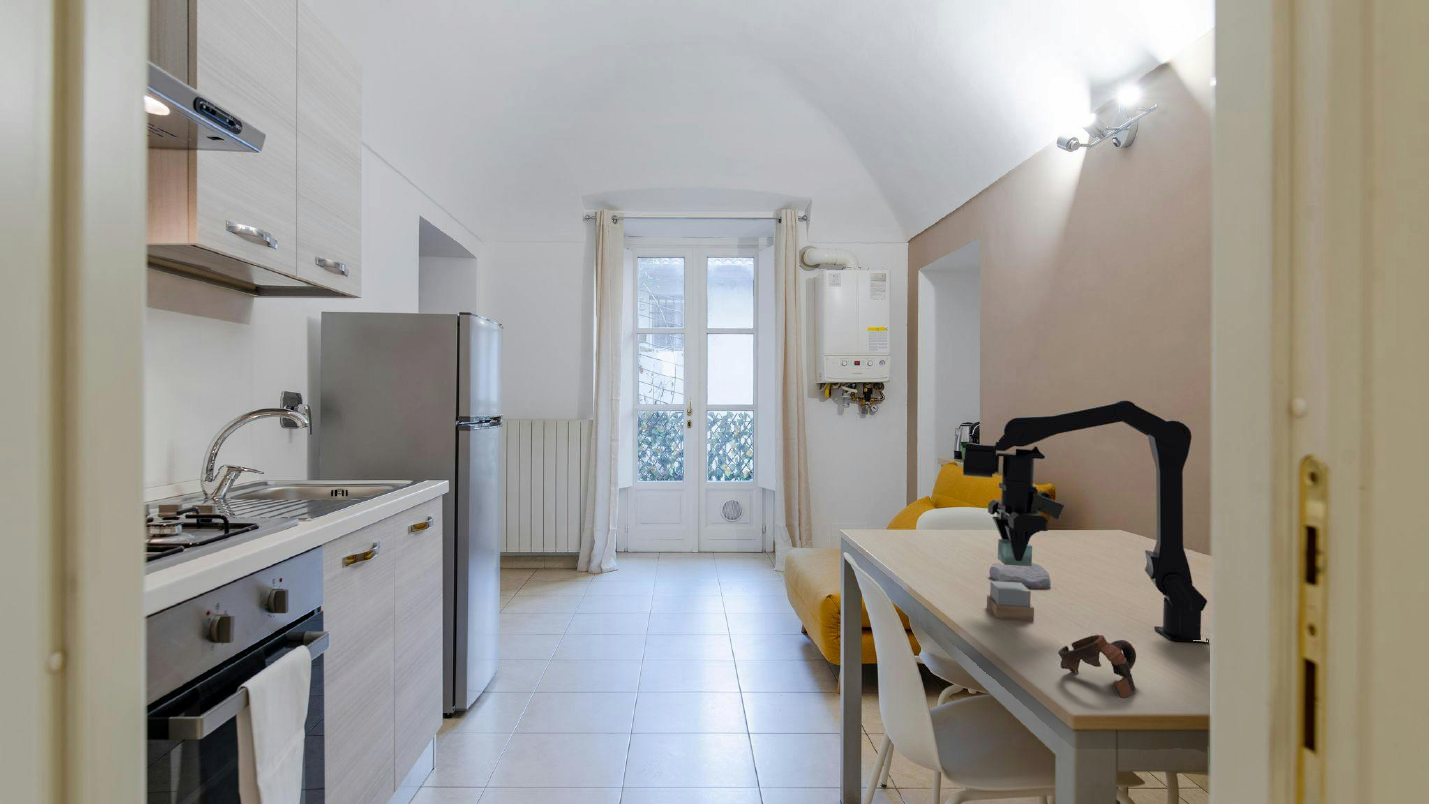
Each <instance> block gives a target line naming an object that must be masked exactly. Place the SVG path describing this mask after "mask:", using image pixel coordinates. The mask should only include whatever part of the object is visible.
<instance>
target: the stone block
mask: <svg viewBox="0 0 1429 804" xmlns="http://www.w3.org/2000/svg"><path fill="white" fill-rule="evenodd" d="M989 576H990V578H991V579H992V580H993V581H999V582H1016V583H1022V584H1023V585H1024V586H1025V587H1026V588H1029V587H1032V589H1049V588H1051V578H1050V577H1051V576H1050V574H1049V573H1048V571H1047V570H1046V568H1045V567H1043V566H1042V565H1040V564H1038V563H1035V562H1032V566H1016V565H1005V564H1003V563H999V562H995V563H993V564H992V565H991V566H990V567H989Z"/></svg>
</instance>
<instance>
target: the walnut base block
mask: <svg viewBox="0 0 1429 804" xmlns="http://www.w3.org/2000/svg"><path fill="white" fill-rule="evenodd" d="M986 608H987V610H988V611H989V610H990V611H989V612H990V613H991V612H992V613H991V614H992V616H993V617H994V618H995V617H996V618H995V619H997V620H999V619H1001V620H1013V621H1031V622H1032V621H1033V622H1034V619H1035V607H1034V606H1033V605H1032V603H1030V607H1027V606H1010V605H998V604H997V603H996V602H995V601H994V599H993V598H992V597H991V596H990V594H987V595H986Z"/></svg>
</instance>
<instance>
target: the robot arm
mask: <svg viewBox="0 0 1429 804" xmlns="http://www.w3.org/2000/svg"><path fill="white" fill-rule="evenodd" d="M1116 423H1124V424H1126V425H1128V426H1129V427H1131V428H1133V429H1135V430H1136V431H1138V432H1140V433H1141V434H1143V435H1145V436H1147V438H1148V443H1149V447H1150V452H1151V456H1152V459H1153V461H1154V462H1153V463H1154V466H1155V470H1156V471H1155V473H1156V474H1155V475H1156V476H1155V477H1156V478H1155V480H1156V489H1155V491H1156V496H1155V497H1156V498H1155V499H1156V543H1155V546H1154V549H1153V551H1152V550H1146V549H1145V550H1144V554H1145V557H1146V558H1145V559H1146V566H1145V568H1144V571H1145V573H1146V574H1147V576H1148V577H1149V579H1150V582H1152V583H1153V585H1154V587H1156V589H1157V590H1158V591H1159V592H1160V593H1161V594H1162V596H1164V597H1163V608H1162V609H1163V610H1162V611H1163V612H1162V614H1163V615H1162V626H1156V625H1155V626H1154V628H1153V629H1154V630H1155V631H1157V633H1159V634H1161V635H1162V636H1164V637H1166V638H1167V639H1169V640H1170V641H1173V642H1186V641H1193V640H1201V635H1202V633H1201V632H1202V612H1203V611H1204V610H1205V608H1206V606H1207V604H1208V599H1207V598H1206V597H1204V595H1203V594H1201V592H1200V591H1199V590H1198V589H1197V588H1196V587H1195V586H1194V585H1193V584H1194V583H1193V577H1192V573H1191V569H1190V565H1189V560H1188V557H1187V555H1186V551H1185V548H1184V500H1183V499H1184V491H1183V490H1184V488H1183V487H1184V485H1183V483H1184V481H1183V480H1184V478H1183V475H1184V474H1183V472H1184V468H1185V465H1186V462H1187V459H1188V458H1189V457H1188V456H1189V452H1190V449H1191V442H1192V431H1191V430H1190V428H1189V427H1188V426H1187V425H1186V424H1184V423H1183V422H1180V421H1178V420H1173V419H1171V420H1170V419H1163V418H1161V417H1160V416H1157V415H1156V414H1153V413H1151V412H1149V411H1147V410H1145V409H1143V408H1141V407H1139V406H1137V405H1136V403H1134V402H1132V401H1131V400H1130V401H1129V400H1126V399H1125V400H1117V401H1116V402H1112V403H1109V404H1103V405H1098V406H1094V407H1088V408H1084V409H1079V410H1073V411H1069V412H1064V413H1058V414H1054V415H1035V416H1034V415H1032V416H1031V415H1030V416H1028V415H1027V416H1015V417H1013V418H1010V419H1009V420H1008V421H1007V423H1005V426H1004V429H1003V434H1002V436H1001V437H1000V438H999V439H998V440H997V439H996V441H995V443H994V444H978V443H975V442H974V443H973V442H967V443H965V448H964V449H965V450H964V458H963V465H962V471H963V473H962V474H963V476H964V477H965V476H966V477H977V478H978V477H979V478H990V479H993V478H994V477H993V476H994V475H996V474H999V472H1000V471H999V470H1000V457H1002V469H1001V470H1002V474H1001V482H998V488H999V489H1001V499H992V500H991V501H989V503H988V504H987V513H988V514H990V515H995V514H996V516H992V520H993V522H994V524H995V526H996V529H997V531H998V533H999V536H1000V539H1005V540H1009V541H1010V544H1011V547H1012V551H1013V554H1014V557H1015V560H1016V561H1022V559H1023V556H1024V553H1025V550H1026V548H1027V545H1028V544H1029V542H1030V539H1031V538H1032V536H1033V535H1035V534H1036V533H1040V532H1048V531H1049V520H1048V519H1047V518H1046V517H1045V516H1044V515H1042V514H1041V513H1043V514H1045V515H1047V516H1050V517H1051V518H1053V519H1055V520H1060V518H1061V515H1062V513H1063V510H1064V508H1065V506H1066V505H1065V504H1062V503H1060V502H1058V501H1056V500H1053V499H1052V495H1051V493H1048V492H1045V491H1043V490H1040V491H1039V489H1038V488H1037V486H1035V485H1034V473H1035V472H1034V471H1035V459H1036V460H1044V459H1045V458H1046V457H1045V454H1044V453H1043V452H1041V451H1040V450H1039V448H1038V446H1037V445H1034V446H1033V447H1032V448H1031V449H1028V448H1023V447H1026V446H1029V445H1031V444H1035V443H1037V442H1040V441H1043V440H1046V439H1048V438H1050V437H1053V436H1055V435H1059V434H1064V433H1069V432H1073V431H1079V430H1083V429H1089V428H1096V427H1101V426H1105V425H1110V424H1116ZM1013 447H1016V448H1015V452H1013V453H1012V452H1011V453H1010V452H1006V451H1008V450H1009V449H1011V448H1013ZM1017 447H1019V448H1017ZM1021 447H1022V448H1021ZM1207 640H1208V643H1209V640H1210V639H1209V638H1207V637H1206V641H1207ZM1209 644H1210V643H1209Z"/></svg>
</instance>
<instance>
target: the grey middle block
mask: <svg viewBox="0 0 1429 804" xmlns="http://www.w3.org/2000/svg"><path fill="white" fill-rule="evenodd" d="M989 587H990V591H989V595H990V596H991V597H992V598H993V599H994V601H995V602H996V603H997V604H998V605H1010V606H1027V607H1030V604H1031V590H1030V589H1029V588H1028V587H1025V586H1024V585H1023V584H1022V583H1016V582H999V581H996V580H990V586H989Z"/></svg>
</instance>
